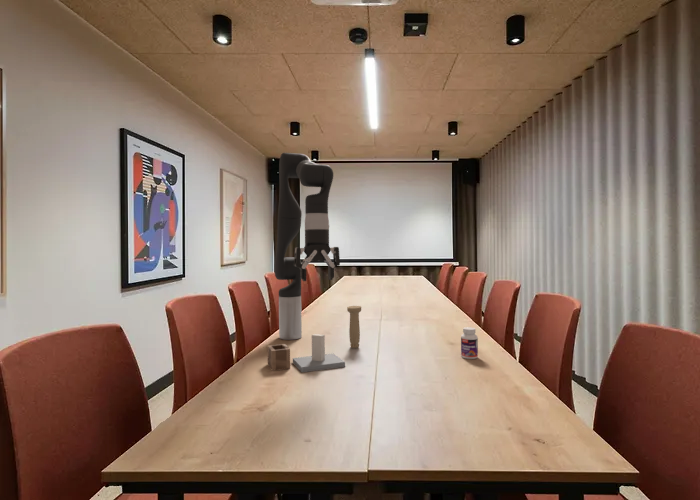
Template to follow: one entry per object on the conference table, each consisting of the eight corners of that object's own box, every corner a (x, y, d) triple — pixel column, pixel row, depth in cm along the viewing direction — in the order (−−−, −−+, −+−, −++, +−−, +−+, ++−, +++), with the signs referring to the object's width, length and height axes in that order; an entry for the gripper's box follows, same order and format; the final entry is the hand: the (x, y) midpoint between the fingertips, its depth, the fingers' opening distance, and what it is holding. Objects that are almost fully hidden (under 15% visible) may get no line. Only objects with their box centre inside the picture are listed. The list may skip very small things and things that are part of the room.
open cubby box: (267, 364, 131) (267, 344, 131) (284, 362, 133) (284, 342, 133) (272, 370, 124) (271, 350, 124) (290, 368, 127) (289, 348, 126)
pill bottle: (460, 358, 135) (459, 329, 135) (462, 354, 140) (461, 326, 140) (477, 360, 133) (476, 330, 133) (478, 355, 138) (478, 327, 138)
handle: (363, 345, 154) (363, 306, 153) (357, 350, 148) (357, 308, 148) (352, 344, 156) (351, 305, 155) (345, 348, 150) (344, 308, 149)
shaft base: (292, 362, 133) (292, 333, 133) (333, 357, 138) (333, 329, 138) (301, 372, 122) (301, 340, 122) (345, 366, 128) (344, 336, 128)
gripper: (334, 229, 134) (334, 278, 134) (291, 228, 128) (292, 280, 128) (342, 228, 127) (343, 280, 127) (297, 227, 121) (298, 282, 121)
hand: (317, 280), depth 128 cm, fingers open, 8 cm apart
